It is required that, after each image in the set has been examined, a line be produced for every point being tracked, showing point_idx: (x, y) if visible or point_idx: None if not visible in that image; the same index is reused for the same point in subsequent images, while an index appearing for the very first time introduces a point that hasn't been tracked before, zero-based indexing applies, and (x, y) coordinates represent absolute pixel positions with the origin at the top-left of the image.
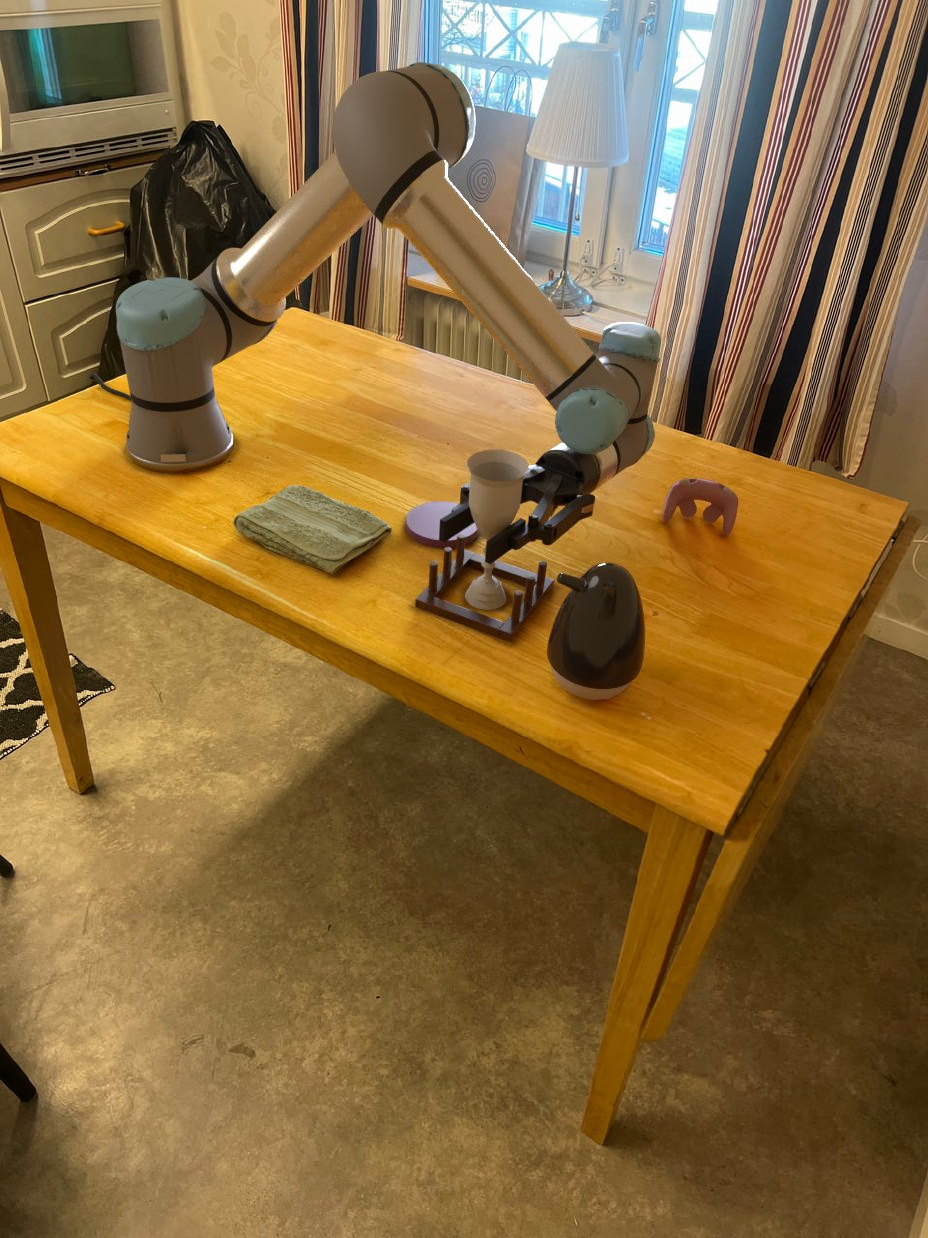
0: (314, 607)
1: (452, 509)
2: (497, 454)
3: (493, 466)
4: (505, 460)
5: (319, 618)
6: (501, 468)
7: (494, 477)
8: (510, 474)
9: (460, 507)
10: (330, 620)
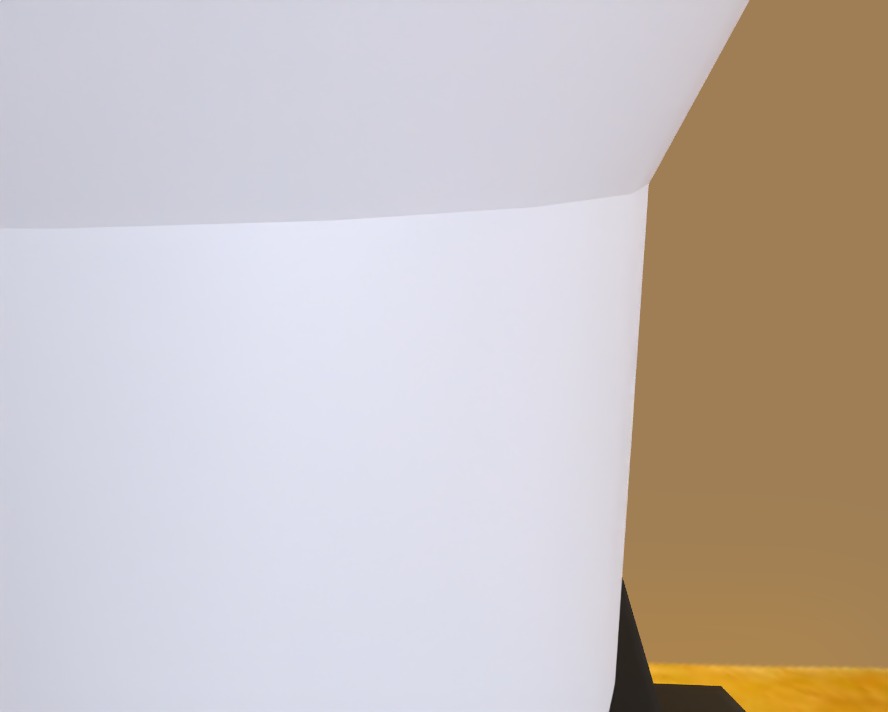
0: (861, 697)
1: (725, 698)
2: (483, 27)
3: (503, 362)
4: (206, 184)
5: (786, 671)
6: (318, 436)
7: (467, 643)
8: (34, 551)
9: (636, 652)
10: (755, 681)
